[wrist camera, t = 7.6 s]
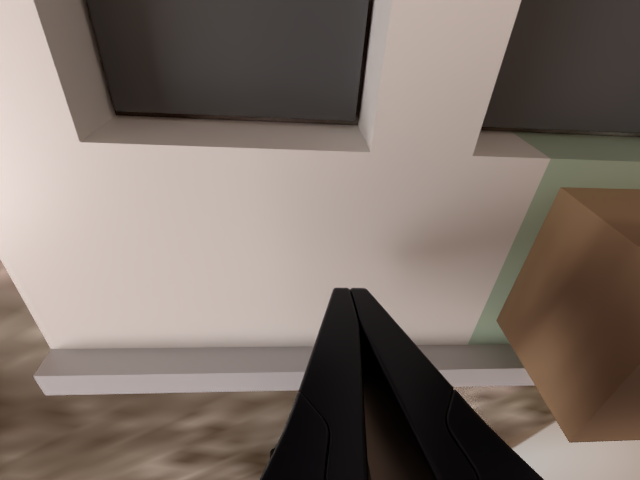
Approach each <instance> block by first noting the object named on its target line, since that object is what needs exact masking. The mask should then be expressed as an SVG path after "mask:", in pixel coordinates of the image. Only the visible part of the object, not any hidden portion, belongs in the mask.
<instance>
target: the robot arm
mask: <svg viewBox="0 0 640 480" xmlns="http://www.w3.org/2000/svg"><path fill="white" fill-rule="evenodd" d="M260 480H543V478H542V477H540V476H539V475H538V474H537V473H536V472H535V471H534V470H533V469H532V468H531V467H530V466H529V465H528V464H527V463H526V462H525V461H524V460H523V459H522V458H520V456H519V455H518V454H517V453H515V452H514V451H513V450H512V449H511V448H510V447H509V446H508V445H507V444H506V443H505V442H504V441H503V440H502V439H501V438H500V437H499V436H498V435H497V434H496V433H495V432H494V431H493V430H492V429H491V428H490V427H489V426H488V425H487V424H486V423H485V422H484V421H483V420H482V419H481V417H480V416H479V415H478V414H477V413H476V412H475V411H474V410H473V409H472V408H471V407H470V405H469V404H468V403H467V402H466V401H465V400H464V399H463V398H462V396H461V395H460V394H459V393H458V392H457V391H456V390H453V386H452V385H451V384H450V383H449V382H448V381H447V380H446V378H445V377H444V376H443V375H442V374H441V373H440V372H439V370H438V369H437V368H436V367H435V366H434V365H433V364H432V363H431V361H430V360H429V359H428V358H427V357H426V356H425V355H424V353H423V352H422V351H421V350H420V349H419V348H418V347H417V345H416V344H415V343H414V342H413V341H412V340H411V339H410V337H409V336H408V335H407V334H406V333H405V332H404V331H403V329H402V328H401V327H400V326H399V325H398V324H397V323H396V322H395V320H394V319H393V318H392V317H391V316H390V315H389V314H388V312H387V311H386V310H385V309H384V308H383V307H382V306H381V304H380V303H379V302H378V301H377V300H376V299H375V298H374V296H373V295H372V294H371V293H370V292H369V291H368V290H367V289H366V288H351V289H349V288H334V289H333V291H332V294H331V297H330V300H329V303H328V306H327V309H326V312H325V315H324V317H323V320H322V323H321V326H320V329H319V332H318V335H317V338H316V341H315V344H314V347H313V350H312V353H311V355H310V358H309V361H308V364H307V367H306V370H305V373H304V376H303V379H302V382H301V385H300V388H299V391H298V393H297V396H296V399H295V402H294V405H293V407H292V410H291V413H290V415H289V418H288V421H287V423H286V426H285V428H284V431H283V433H282V435H281V437H280V439H279V441H278V444H277V446H276V448H274V449H272V450H271V452H270V460H269V462H268V464H267V466H266V468H265V470H264V472H263V474H262V476H261V478H260Z"/></svg>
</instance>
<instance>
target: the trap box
mask: <svg viewBox="0 0 640 480" xmlns="http://www.w3.org/2000/svg"><path fill="white" fill-rule="evenodd" d="M87 3H88V5H87ZM368 3H369V0H87V1H86V0H0V259H1V261H2V263H3V265H4V266H5V268H6V270H7V272H8V274H9V275H10V277H11V279H12V281H13V282H14V284H15V286H16V288H17V290H18V291H19V293H20V295H21V297H22V299H23V300H24V302H25V304H26V306H27V307H28V309H29V311H30V313H31V315H32V316H33V318H34V320H35V322H36V323H37V325H38V327H39V329H40V331H41V332H42V334H43V336H44V338H45V340H46V341H47V343H48V345H49V347H50V348H51V350H50V351H49V353H48V354H47V356H46V357H45V359H44V360H43V362H42V363H41V365H40V366H39V368H38V369H37V371H36V372H35V374H34V375H33V377H34V379H35V380H36V382H37V383H38V385H39V387H40V388H41V390H42V391H43V393H44V394H45V395H89V394H138V393H187V392H236V391H285V390H299V388H300V385H301V382H302V379H303V376H304V373H305V370H306V367H307V364H308V361H309V358H310V355H311V353H312V350H313V347H314V344H315V341H316V338H317V335H318V332H319V329H320V326H321V323H322V320H323V317H324V315H325V312H326V309H327V306H328V303H329V300H330V297H331V294H332V291H333V289H334V288H349V289H351V288H366V289H367V290H368V291H369V292H370V293H371V294H372V295H373V296H374V298H375V299H376V300H377V301H378V302H379V303H380V304H381V306H382V307H383V308H384V309H385V310H386V311H387V312H388V314H389V315H390V316H391V317H392V318H393V319H394V320H395V322H396V323H397V324H398V325H399V326H400V327H401V328H402V329H403V331H404V332H405V333H406V334H407V335H408V336H409V337H410V339H411V340H412V341H413V342H414V343H415V344H416V345H417V347H418V348H419V349H420V350H421V351H422V352H423V353H424V355H425V356H426V357H427V358H428V359H429V360H430V361H431V363H432V364H433V365H434V366H435V367H436V368H437V369H438V370H439V372H440V373H441V374H442V375H443V376H444V377H445V378H446V380H447V381H448V382H449V383H450V384H451V385H452V386H453V387H480V386H529V385H535V384H534V383H533V381H532V379H531V378H530V376H529V375H528V373H527V371H526V370H525V368H524V366H523V365H522V363H521V361H520V360H519V358H518V356H517V355H516V353H515V351H514V350H513V348H512V346H511V345H510V343H509V341H508V340H507V338H506V336H505V335H504V333H503V331H502V330H501V328H500V326H499V325H498V323H497V321H496V320H497V318H498V316H499V314H500V312H501V309H502V307H503V305H504V303H505V301H506V299H507V297H508V295H509V293H510V291H511V289H512V287H513V285H514V283H515V280H516V278H517V276H518V274H519V272H520V270H521V268H522V266H523V264H524V262H525V260H526V258H527V256H528V253H529V251H530V249H531V247H532V245H533V243H534V241H535V239H536V237H537V235H538V233H539V231H540V229H541V227H542V224H543V222H544V220H545V218H546V216H547V214H548V212H549V210H550V208H551V206H552V204H553V202H554V200H555V197H556V195H557V193H558V191H559V189H560V187H569V188H609V189H640V137H630V136H605V135H581V134H557V133H533V132H508V131H484V130H481V127H504V128H528V129H551V130H575V131H599V132H622V133H640V0H373V4H372V12H371V21H370V29H369V37H368V46H367V54H366V62H365V71H364V79H363V87H362V96H361V104H360V112H359V121H358V125H339V124H314V123H290V122H266V121H242V120H217V119H193V118H169V117H145V116H120V115H116V114H115V111H125V112H148V113H172V114H196V115H219V116H243V117H267V118H291V119H314V120H338V121H355V117H356V108H357V99H358V90H359V82H360V73H361V64H362V56H363V47H364V38H365V29H366V21H367V12H368ZM88 7H89V9H88ZM89 11H90V13H89ZM90 15H91V17H90ZM91 19H92V21H91ZM92 22H93V25H92ZM93 26H94V29H93ZM94 30H95V32H94ZM95 34H96V36H95ZM96 38H97V40H96ZM97 42H98V44H97ZM98 46H99V48H98ZM99 50H100V52H99ZM100 54H101V56H100ZM101 58H102V60H101ZM102 61H103V64H102ZM103 65H104V67H103ZM104 69H105V71H104ZM105 73H106V75H105ZM106 77H107V79H106ZM107 81H108V83H107ZM108 85H109V87H108ZM109 89H110V91H109ZM110 93H111V95H110ZM111 97H112V99H111ZM112 100H113V103H112ZM113 104H114V106H113ZM114 108H115V110H114Z"/></svg>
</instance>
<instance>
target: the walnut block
mask: <svg viewBox="0 0 640 480" xmlns="http://www.w3.org/2000/svg"><path fill="white" fill-rule="evenodd" d="M496 321H497V323H498V325H499V326H500V328H501V330H502V331H503V333H504V335H505V336H506V338H507V340H508V341H509V343H510V345H511V346H512V348H513V350H514V351H515V353H516V355H517V356H518V358H519V360H520V361H521V363H522V365H523V366H524V368H525V370H526V371H527V373H528V375H529V376H530V378H531V379H532V381H533V383H534V384H535V386H536V388H537V389H538V391H539V393H540V394H541V396H542V398H543V399H544V401H545V403H546V404H547V406H548V408H549V409H550V411H551V413H552V414H553V416H554V418H555V419H556V421H557V423H558V424H559V426H560V428H561V429H562V431H563V433H564V434H565V436H566V437H567V439H568V441H569V442H595V441H622V440H640V189H609V188H569V187H560V189H559V191H558V193H557V195H556V197H555V200H554V202H553V204H552V206H551V208H550V210H549V212H548V214H547V216H546V218H545V220H544V222H543V224H542V227H541V229H540V231H539V233H538V235H537V237H536V239H535V241H534V243H533V245H532V247H531V249H530V251H529V253H528V256H527V258H526V260H525V262H524V264H523V266H522V268H521V270H520V272H519V274H518V276H517V278H516V280H515V283H514V285H513V287H512V289H511V291H510V293H509V295H508V297H507V299H506V301H505V303H504V305H503V307H502V309H501V312H500V314H499V316H498V318H497V320H496Z"/></svg>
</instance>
